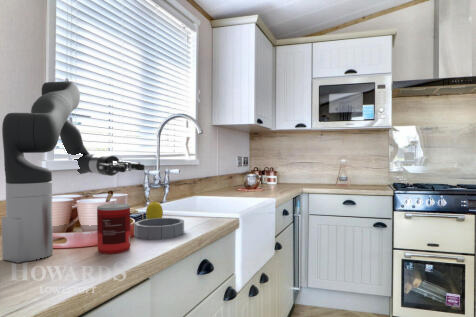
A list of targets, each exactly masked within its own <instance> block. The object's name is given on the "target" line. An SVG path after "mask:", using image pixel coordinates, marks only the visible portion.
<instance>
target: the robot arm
mask: <svg viewBox="0 0 476 317" xmlns="http://www.w3.org/2000/svg"><path fill="white" fill-rule="evenodd" d="M80 100H81V94H80V90H79V87H78V86H77V84H76V83H74V82H73V81H68V80H67V81H47V82H44V83H43V84H42V85H41V96H39V97H38V98H37V99H36V100H35V101H34V102H33V104H32V106H31V108H30V109H31V110H30V112H9V113H7V114H6V115H5V116H4V118H3V119H2V124H1V125H2V127H1V128H2V129H1V130H2V131H1V133H2V146H3V162H4V164H3V165H4V174H5V175H4V176H5V216H3V217H1V238H2V239H1V241H2V242H1V245H2V246H1V248H2V250H1V252H2V257H1V258H2V260H5V261H8V262H12V263H16V264H17V263H23V262H31V261H37V260H41V259H40V258H42V259H45V258H47V256H48V257H50V256H52V255H53V254H52V253H54V242H53V241H54V240H53V238H54V236H53V182H52V181H53V179H52V178H53V176H52V175H53V173H52V171H51V169H49V168H46V167H44V166H43V167H42V166H39V165H38V164H37V165H36V164H34V163H32V162H31V161H29V160H27V159H26V158H25V155H24V154H38V153H39V154H41V153H50V152H52V151H53V150H54V149H55V148H56V146H57V144H58V141H59V139H60V140H61V144H62V143H63V144H62V146H63V145H64V147H65V149H66V151H67V153H68V154H67V153H66V154H67V155H69V154H71V155H76V154H79V153H81V154H83V156H82V157H80V158H79V159H74V160H77V161H78V165H79V167H80V169H78V170H77V171H78V172H79V173H80V174H79V175H83V174H88V173H91V174H92V173H94V174H97V175H102V176H111V177H112V176H116V175H117V174H118V173H126V172H131V171H132V170H133V171H144V170H145V164H144V163H141V162H139V161H138V162H136V161H126V160H125V161H124V160H120V158H118V157H117V156H116V155H112V154H96V153H95V154H94V153H93V154H92V153H89V151H88V150H87V148H86V147H85V145H84V142H83V137H82V135H81V134H82V133H81V132H80V130H79V128H77V126H75V124H74V123H73V122H71V121H70V120H69V117H70V116H71V114H72V112H73V111H74V110H76V109H77V107H78V106H79V104H80ZM71 155H70V156H71ZM51 254H52V255H51ZM44 257H45V258H44ZM36 259H37V260H36Z"/></svg>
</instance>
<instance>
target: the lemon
mask: <svg viewBox="0 0 476 317" xmlns="http://www.w3.org/2000/svg"><path fill="white" fill-rule="evenodd" d="M163 214H164V211H163V207H162V205H161V203H159V202H157V201H155V200H153V201H152V202H150V203H149V204H148V205H147V206H146V210H145V217H146V219H153V218H163V216H164V215H163Z"/></svg>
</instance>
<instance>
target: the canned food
mask: <svg viewBox="0 0 476 317" xmlns="http://www.w3.org/2000/svg"><path fill="white" fill-rule="evenodd" d="M96 222H97V223H96V224H97V226H96V227H97V230H96V233H97V234H96V235H97V250H98V252H99V253H100V254H103V253H106V255H114V253H116V254H122V253H125V252H128V251H129V250H130V248H131V205H130V204H129V203H106V204H99V205H97V207H96ZM121 252H122V253H121Z"/></svg>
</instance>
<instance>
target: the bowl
mask: <svg viewBox="0 0 476 317" xmlns="http://www.w3.org/2000/svg"><path fill="white" fill-rule="evenodd" d="M133 225H134V226H133V227H134V229H133V231H134V234H133V236H134V237H136V238H137V239H143V240H167V239H173V238H177V237H180V236H181V237H182V236H183V235H184V233H185V220H184V219H181V218H177V217H162V218H153V219H147V218H145V219H142V220H138V221H136V222H134V223H133Z"/></svg>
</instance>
